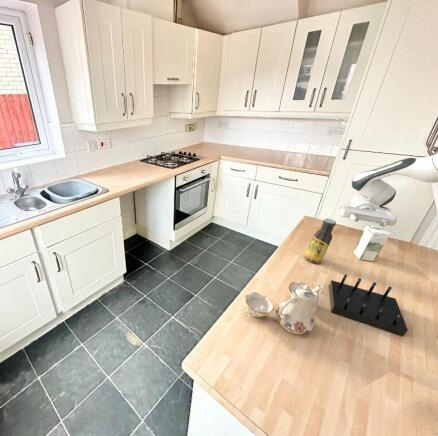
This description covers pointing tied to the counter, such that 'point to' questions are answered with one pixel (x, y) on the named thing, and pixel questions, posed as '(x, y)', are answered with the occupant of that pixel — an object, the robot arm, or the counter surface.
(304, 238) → the counter surface
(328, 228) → the sauce bottle
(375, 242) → the syrup box
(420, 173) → the robot arm
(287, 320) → the chinaware
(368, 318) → the dish rack
